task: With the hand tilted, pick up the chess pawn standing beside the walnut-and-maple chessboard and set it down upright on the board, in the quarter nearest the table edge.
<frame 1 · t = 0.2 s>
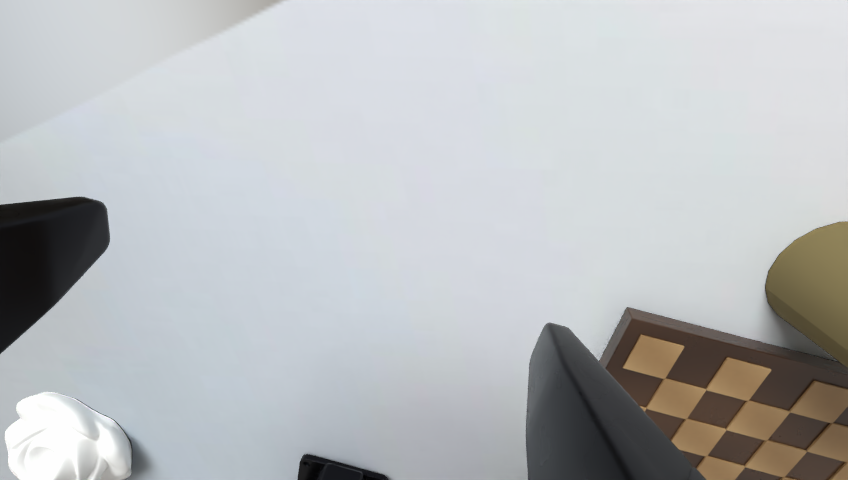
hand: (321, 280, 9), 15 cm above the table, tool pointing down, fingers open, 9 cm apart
chess pawn: (832, 275, 23), on the table
chessboard: (716, 474, 29), on the table
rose: (82, 433, 37), on the table
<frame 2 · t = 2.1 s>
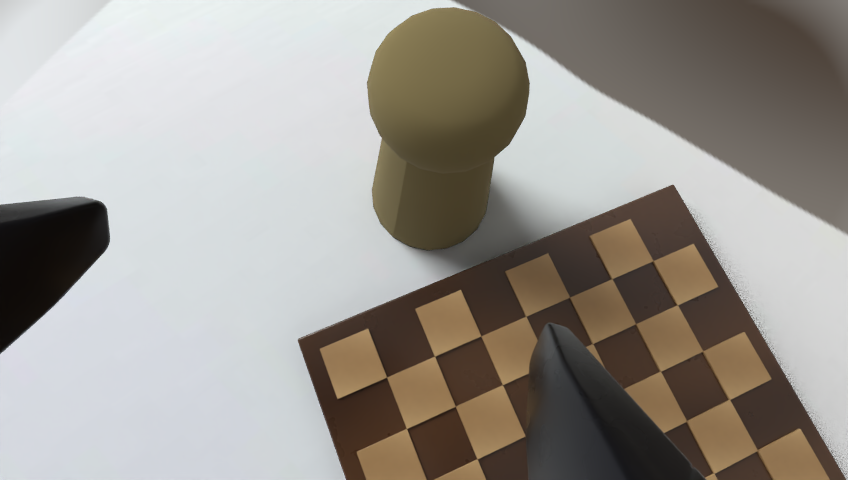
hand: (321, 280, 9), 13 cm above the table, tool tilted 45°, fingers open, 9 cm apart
chess pawn: (430, 194, 24), on the table
chessboard: (586, 461, 21), on the table
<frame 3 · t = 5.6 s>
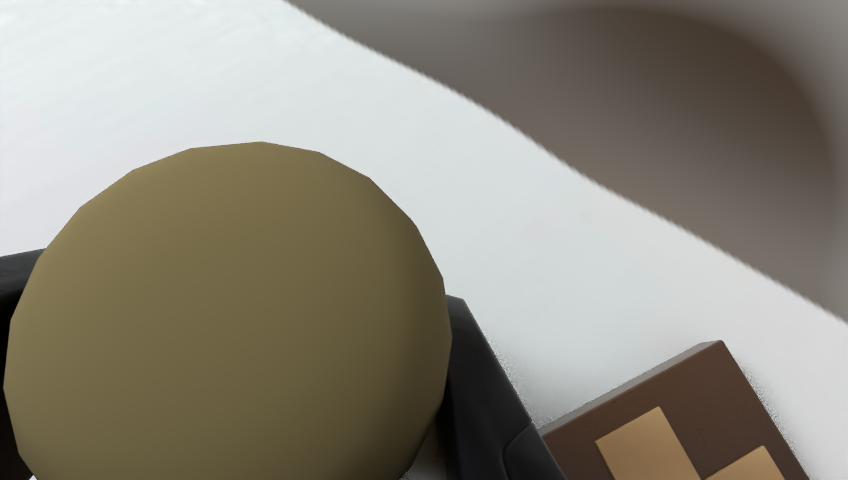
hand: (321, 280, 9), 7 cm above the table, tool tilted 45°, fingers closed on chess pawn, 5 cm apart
chess pawn: (339, 364, 15), on the table, touching gripper
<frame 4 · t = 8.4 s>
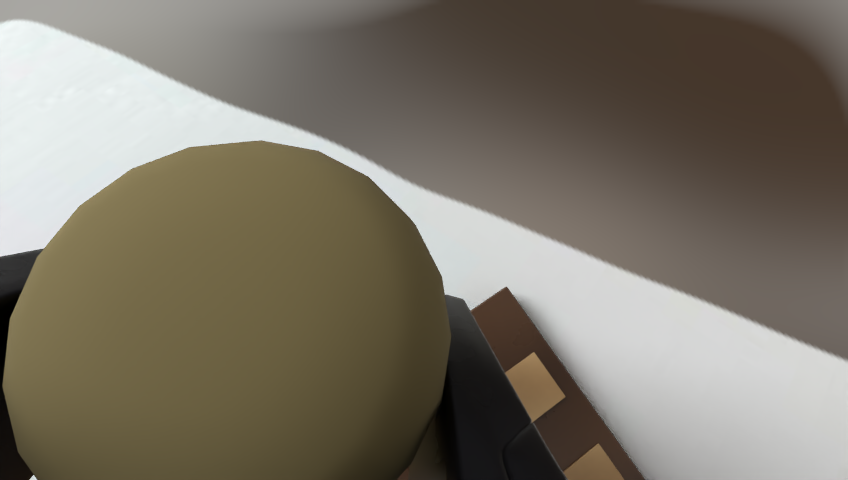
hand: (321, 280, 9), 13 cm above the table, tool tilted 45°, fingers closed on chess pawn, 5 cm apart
chess pawn: (338, 363, 15), point 6 cm above the table, touching gripper
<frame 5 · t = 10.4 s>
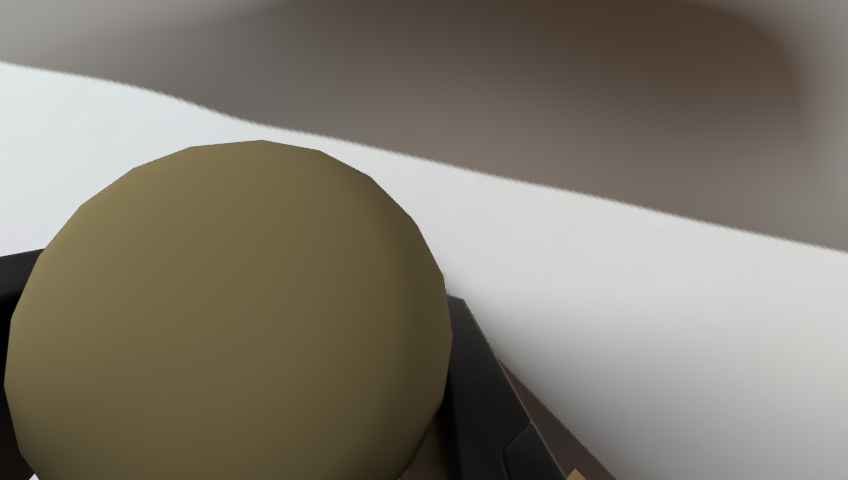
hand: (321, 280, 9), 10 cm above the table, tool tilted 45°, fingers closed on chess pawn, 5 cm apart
chess pawn: (339, 363, 15), point 3 cm above the table, touching gripper
when the fingers open (8 cm above the table, at t = 11.4 s): chess pawn stays where it is, resting on chessboard.
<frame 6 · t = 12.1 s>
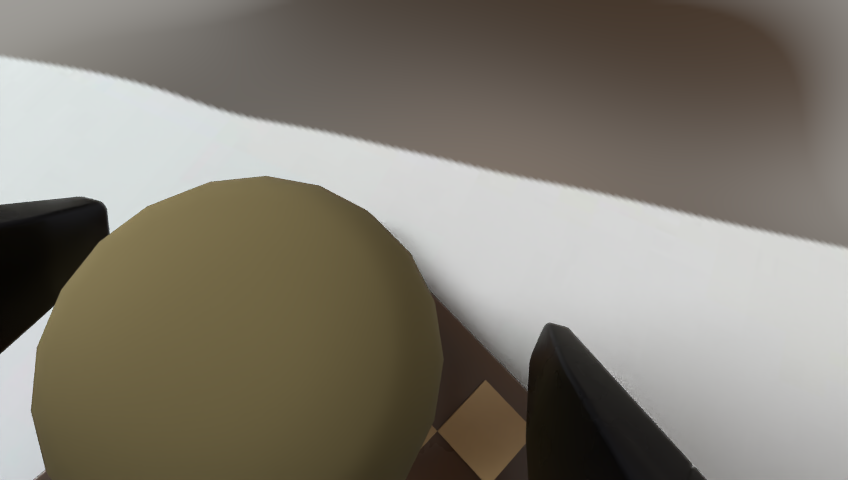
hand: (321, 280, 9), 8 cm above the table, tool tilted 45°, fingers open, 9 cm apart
chess pawn: (338, 373, 16), point 1 cm above the table, touching chessboard
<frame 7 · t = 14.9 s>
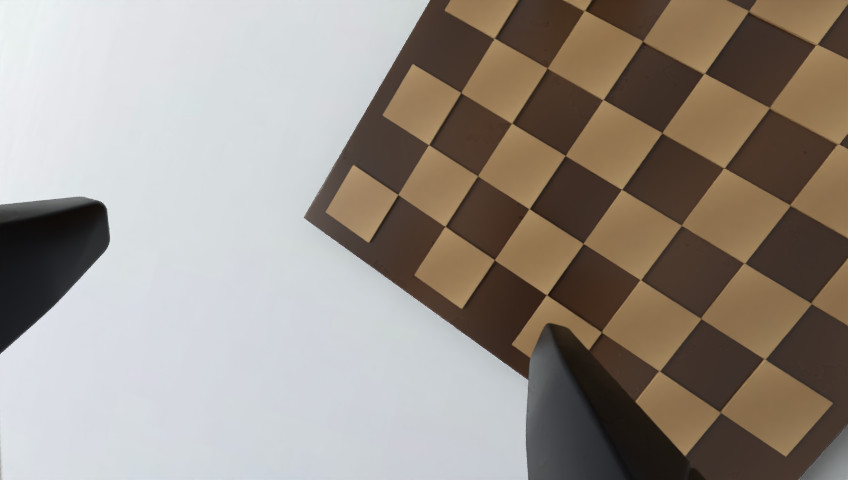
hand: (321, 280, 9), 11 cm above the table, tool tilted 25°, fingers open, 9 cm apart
chessboard: (654, 139, 17), on the table
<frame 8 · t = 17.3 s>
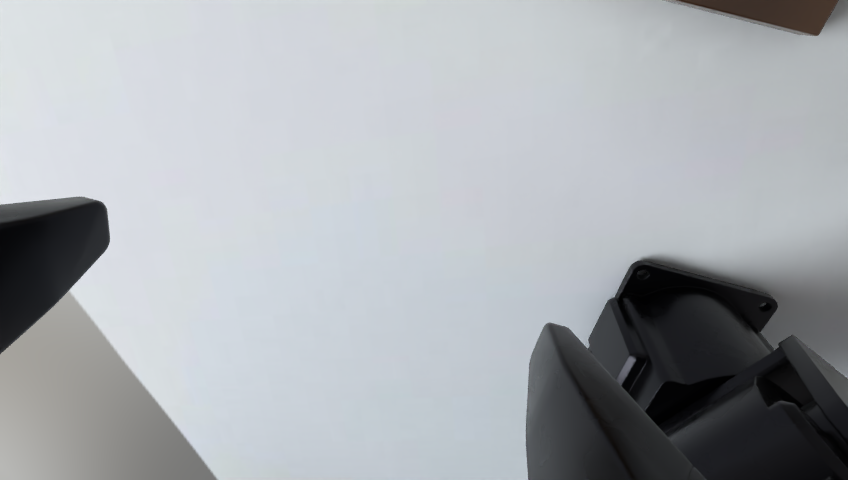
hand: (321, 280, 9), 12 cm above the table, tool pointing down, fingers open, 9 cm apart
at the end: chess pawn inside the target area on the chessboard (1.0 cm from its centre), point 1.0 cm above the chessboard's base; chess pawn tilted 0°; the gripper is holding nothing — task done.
